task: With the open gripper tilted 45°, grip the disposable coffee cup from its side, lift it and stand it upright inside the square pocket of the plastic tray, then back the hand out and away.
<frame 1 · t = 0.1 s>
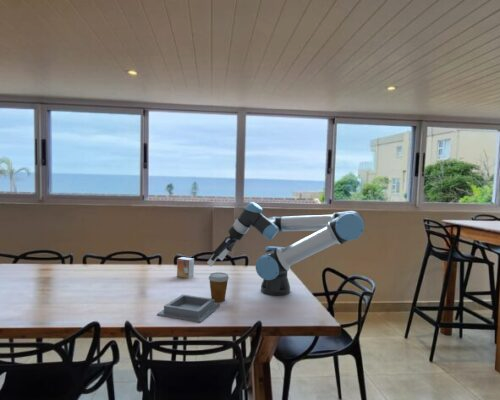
hand: (214, 261, 180), 15 cm above the table, tool tilted 35°, fingers open, 13 cm apart
tray: (189, 310, 155), on the table
small box: (185, 276, 207), on the table
disposable coffee cup: (218, 300, 169), on the table
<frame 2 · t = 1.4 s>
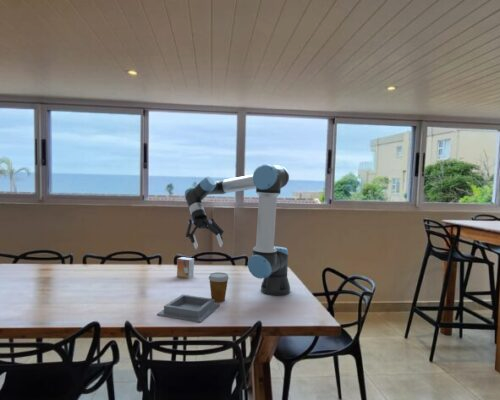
hand: (209, 246, 177), 23 cm above the table, tool tilted 45°, fingers open, 13 cm apart
nothing on the table moved.
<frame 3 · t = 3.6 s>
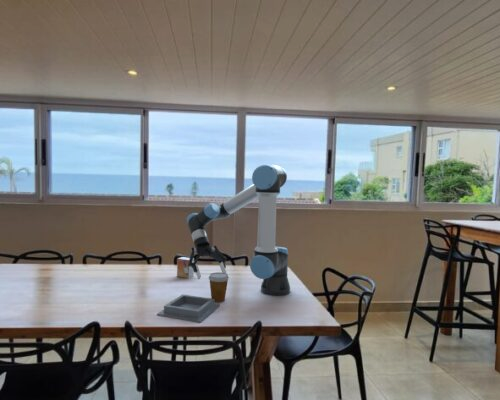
hand: (212, 276, 173), 10 cm above the table, tool tilted 45°, fingers open, 13 cm apart
nothing on the table moved.
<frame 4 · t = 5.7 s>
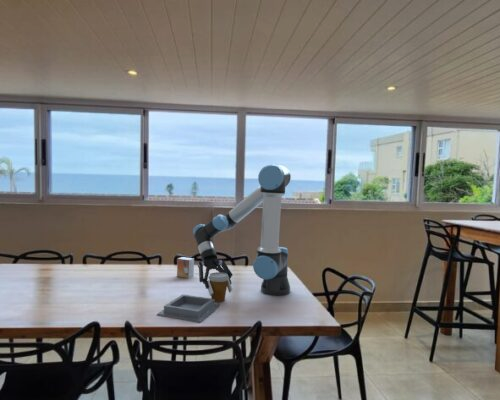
hand: (221, 292, 166), 4 cm above the table, tool tilted 45°, fingers closed on disposable coffee cup, 9 cm apart
disposable coffee cup: (218, 300, 169), on the table, touching gripper
everything else where it was.
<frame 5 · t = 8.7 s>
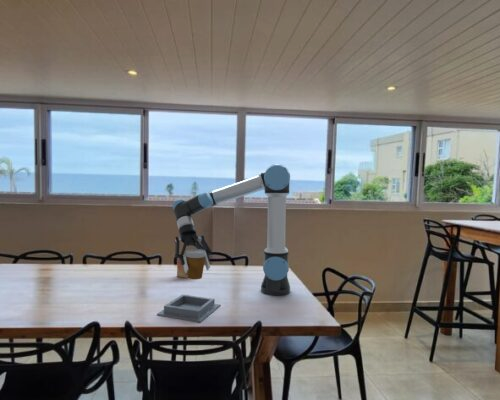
hand: (197, 269, 156), 17 cm above the table, tool tilted 45°, fingers closed on disposable coffee cup, 9 cm apart
disposable coffee cup: (194, 277, 159), point 13 cm above the table, touching gripper
everything else where it was.
when the fingers open (6 cm above the table, at t = 12.1 s): disposable coffee cup drops 1 cm, resting on tray.
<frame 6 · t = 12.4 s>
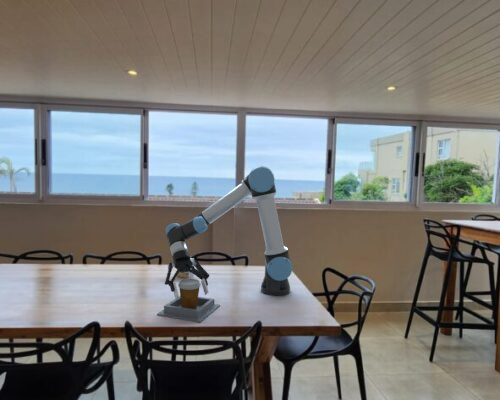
hand: (192, 295, 153), 7 cm above the table, tool tilted 45°, fingers open, 13 cm apart
disposable coffee cup: (189, 309, 155), resting on tray
everything else where it was.
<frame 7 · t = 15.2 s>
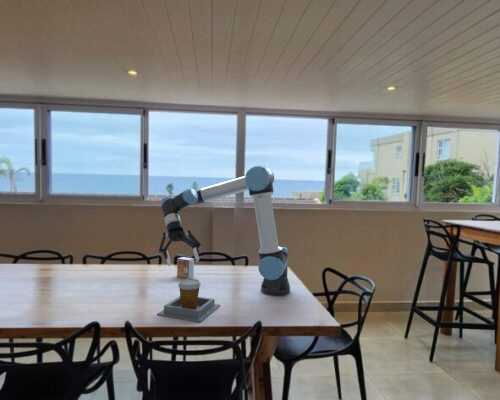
hand: (184, 262, 165), 18 cm above the table, tool tilted 40°, fingers open, 13 cm apart
nothing on the table moved.
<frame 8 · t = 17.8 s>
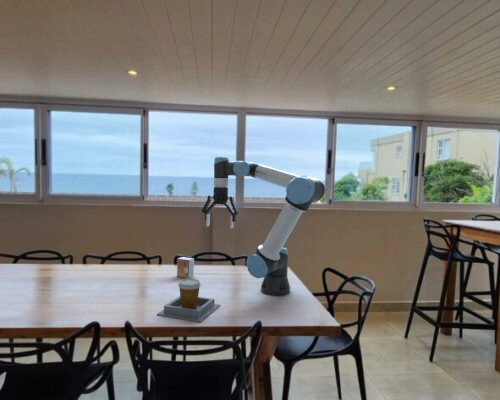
hand: (219, 227, 188), 32 cm above the table, tool pointing down, fingers open, 13 cm apart
nothing on the table moved.
at the end: disposable coffee cup inside the target area on the tray (0.4 cm from its centre), point 0.4 cm above the tray's base; disposable coffee cup tilted 0°; the gripper is holding nothing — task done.
